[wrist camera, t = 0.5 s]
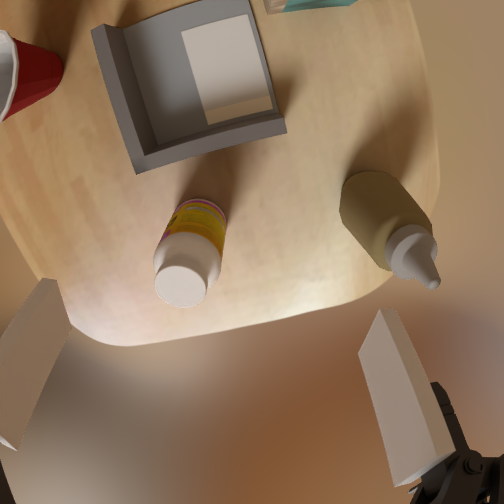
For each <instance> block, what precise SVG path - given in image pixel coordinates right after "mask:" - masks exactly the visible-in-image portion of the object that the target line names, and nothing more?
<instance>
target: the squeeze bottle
mask: <svg viewBox="0 0 504 504" xmlns="http://www.w3.org/2000/svg"><path fill="white" fill-rule="evenodd" d="M339 212H340V216H341V219H342V223H343V224H344V226H345V227H346V228H347V229H348V230H349V231H350V232H351V234H352V235H353V236H354V237H355V238H356V240H357V241H358V242H359V243H360V244H361V245H362V247H363V248H364V249H365V250H366V251H367V253H368V254H369V255H370V256H371V258H372V259H373V260H374V261H375V262H376V264H377V265H378V266H379V267H380V268H382V269H385V270H387V271H393V273H394V274H395V275H396V276H397V277H399V278H401V279H414V278H416V279H418V280H419V281H420V282H421V283H423V284H424V285H425V286H426V287H428V288H429V289H431V290H433V289H436V288H437V287H438V286H439V285H440V282H441V279H440V277H439V274H438V272H437V269H436V267H435V265H434V261H435V258H436V255H437V243H436V241H435V239H434V238H433V234H432V224H431V223H430V221H429V219H428V217H427V216H426V214H425V213H424V212H423V210H422V209H421V208H420V207H419V205H418V204H417V203H416V202H415V200H414V199H413V198H412V197H411V196H410V194H409V193H408V192H407V191H406V190H405V188H404V187H403V186H402V185H401V184H400V183H399V181H398V180H397V179H396V178H394V177H392V176H391V175H389V174H387V173H386V172H376V171H363V172H360V173H357V174H354V175H352V176H351V177H350V178H349V179H348V180H346V182H345V184H344V186H343V188H342V191H341V199H340V208H339Z"/></svg>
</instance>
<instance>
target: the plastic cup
mask: <svg viewBox="0 0 504 504" xmlns="http://www.w3.org/2000/svg"><path fill="white" fill-rule="evenodd" d="M62 75H63V65H62V61H61V59H60V58H59V56H58V55H57V54H55V53H54V52H51V51H48V50H45V49H43V48H40V47H37V46H34V45H31V44H28V43H24V42H21V41H19V40H16V39H15V38H12V37H11V36H10V34H9V33H8V32H6V31H4V30H0V124H1V122H2V121H4V120H5V119H7V118H8V117H9V116H11V115H13V114H15V113H17V112H18V111H20V110H22V109H24V108H26V107H28V106H29V105H31V104H33V103H35V102H36V101H38V100H40V99H42V98H44V97H45V96H47V95H49V94H50V93H52V92H53V91H54V90H55V89H56V88H57V86H58V85H59V83H60V81H61V78H62Z"/></svg>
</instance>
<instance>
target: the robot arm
mask: <svg viewBox="0 0 504 504" xmlns="http://www.w3.org/2000/svg"><path fill="white" fill-rule="evenodd" d="M71 329H72V327H71V324H70V321H69V318H68V315H67V312H66V309H65V306H64V303H63V300H62V296H61V293H60V290H59V286H58V283H57V280H54V279H47V278H42V279H41V281H40V282H39V283H38V284H37V286H36V287H35V288H34V290H33V291H32V293H31V294H30V295H29V297H28V298H27V299H26V301H25V302H24V304H23V305H22V306H21V308H20V309H19V311H18V312H17V314H16V315H15V317H14V318H13V320H12V321H11V323H10V324H9V325H8V327H7V329H6V330H5V332H4V333H3V335H2V336H1V338H0V442H1V443H2V444H3V445H6V446H8V447H10V448H12V449H14V450H16V451H18V449H19V447H20V444H21V441H22V438H23V435H24V433H25V430H26V428H27V425H28V422H29V420H30V417H31V414H32V412H33V410H34V407H35V405H36V402H37V400H38V398H39V396H40V393H41V391H42V389H43V387H44V384H45V382H46V380H47V378H48V375H49V373H50V371H51V369H52V367H53V365H54V363H55V361H56V359H57V356H58V354H59V352H60V350H61V348H62V346H63V344H64V342H65V340H66V339H67V336H68V335H69V332H70V331H71ZM358 355H359V358H360V361H361V365H362V368H363V371H364V374H365V378H366V381H367V385H368V388H369V391H370V395H371V398H372V402H373V405H374V408H375V412H376V416H377V419H378V423H379V427H380V431H381V434H382V438H383V442H384V445H385V450H386V453H387V458H388V462H389V466H390V470H391V474H392V479H393V483H394V487H396V486H400V485H403V484H408V483H411V482H413V481H415V480H416V479H418V478H419V477H421V479H422V482H421V483H419V484H418V485H416V486H415V487H413V488H411V489H410V491H409V492H408V493H409V494H411V493H412V492H414V491H416V492H415V494H414V495H413V498H412V500H411V502H410V504H504V454H503V455H501V456H500V457H482V456H481V454H480V453H478V452H477V451H474V450H470V449H469V447H468V445H467V443H466V440H465V437H464V434H463V432H462V429H461V427H460V424H459V422H458V419H457V417H456V414H454V409H453V407H452V405H450V404H451V403H450V400H449V398H448V395H447V393H446V391H445V390H444V389H443V388H442V386H440V384H439V383H438V382H433V383H429V380H428V378H427V376H426V373H425V371H424V369H423V366H422V364H421V362H420V360H419V358H418V355H417V354H416V351H415V349H414V347H413V345H412V343H411V341H410V338H409V336H408V334H407V332H406V330H405V328H404V326H403V324H402V322H401V320H400V318H399V316H398V314H397V312H396V310H395V309H379V311H378V313H377V315H376V317H375V319H374V322H373V324H372V326H371V328H370V330H369V332H368V334H367V336H366V338H365V341H364V343H363V345H362V347H361V349H360V351H359V353H358ZM488 496H490V500H489V502H487V497H488ZM0 504H16V503H15V500H14V498H13V495H12V493H11V490H10V487H9V485H8V482H7V479H6V476H5V473H4V470H3V467H2V464H1V461H0Z"/></svg>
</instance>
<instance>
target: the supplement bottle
mask: <svg viewBox="0 0 504 504" xmlns="http://www.w3.org/2000/svg"><path fill="white" fill-rule="evenodd" d="M225 235H226V219H225V216H224V214H223V212H222V211H221V209H220V208H219V207H218V206H217V205H216V204H214V203H212V202H211V201H208V200H205V199H191V200H188V201H185V202H183V203H182V204H181V205H179V206H178V207H177V209H176V210H175V212H174V213H173V215H172V217H171V219H170V221H169V223H168V225H167V228H166V230H165V232H164V234H163V236H162V238H161V240H160V242H159V244H158V246H157V249H156V251H155V254H154V259H153V263H154V269H155V272H156V277H155V281H154V285H155V290H156V292H157V294H158V295H159V297H160V298H161V299H162V300H163V301H165V302H166V303H168V304H170V305H172V306H175V307H180V308H189V307H193V306H195V305H197V304H199V303H200V302H201V301H202V300H203V299H204V297H205V295H206V291H207V289H209V288H210V287H211V286H212V285H213V284H214V283H215V282H216V281H217V279H218V277H219V274H220V271H221V263H222V255H223V248H224V241H225Z"/></svg>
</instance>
